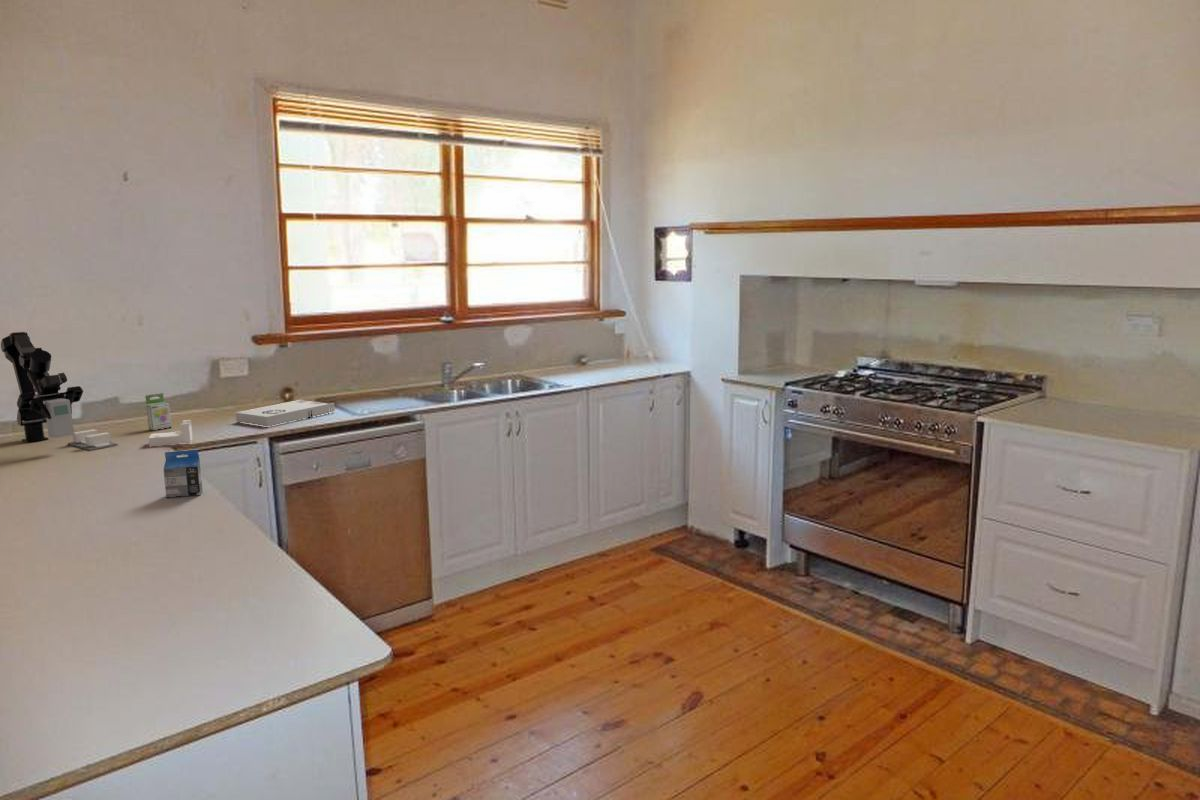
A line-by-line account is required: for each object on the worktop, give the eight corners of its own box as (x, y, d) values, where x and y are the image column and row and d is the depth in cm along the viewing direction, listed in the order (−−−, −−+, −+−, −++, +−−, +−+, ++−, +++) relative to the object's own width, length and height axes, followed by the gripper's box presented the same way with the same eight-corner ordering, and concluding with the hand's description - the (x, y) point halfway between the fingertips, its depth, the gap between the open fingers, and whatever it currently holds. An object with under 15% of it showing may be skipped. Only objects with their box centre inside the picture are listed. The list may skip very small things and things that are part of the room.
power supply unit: (335, 414, 347) (334, 402, 346) (267, 429, 319) (266, 416, 318) (304, 410, 357) (303, 398, 356) (236, 424, 329) (235, 412, 328)
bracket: (192, 440, 301) (190, 419, 300) (190, 444, 295) (188, 423, 293) (152, 443, 297) (150, 422, 295) (149, 448, 290) (147, 426, 289)
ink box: (153, 431, 315) (149, 396, 313) (148, 430, 318) (144, 395, 315) (172, 428, 321) (168, 393, 318) (167, 426, 323) (163, 392, 321)
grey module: (48, 436, 281) (44, 401, 279) (68, 433, 286) (63, 398, 283) (54, 438, 278) (50, 402, 276) (74, 434, 283) (70, 399, 281)
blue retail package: (165, 498, 230) (161, 455, 228) (169, 494, 234) (164, 451, 232) (200, 495, 232) (196, 452, 230) (203, 491, 236) (198, 449, 234)
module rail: (67, 444, 295) (66, 432, 295) (94, 439, 303) (93, 427, 302) (90, 450, 286) (88, 438, 285) (117, 445, 293) (116, 433, 292)
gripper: (15, 369, 272) (34, 406, 268) (77, 362, 287) (96, 397, 283) (8, 391, 278) (27, 427, 274) (69, 383, 293) (88, 417, 289)
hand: (60, 416), depth 280 cm, fingers closed on grey module, 6 cm apart
